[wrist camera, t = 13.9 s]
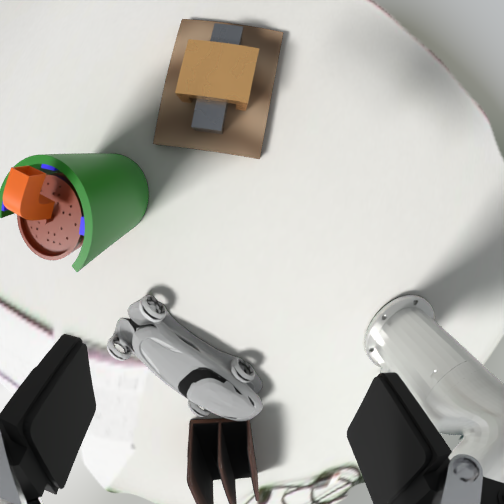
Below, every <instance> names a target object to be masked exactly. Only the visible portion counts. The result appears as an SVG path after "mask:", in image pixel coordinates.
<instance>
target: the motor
mask: <svg viewBox="0 0 504 504" xmlns="http://www.w3.org/2000/svg"><path fill="white" fill-rule="evenodd" d="M148 199H149V191H148V184H147V181H146V178H145V176H144V174H143V172H142V170H141V169H140V168H139V166H138V165H137V164H136V163H135V162H134V161H132V160H131V159H129V158H128V157H126V156H123V155H120V154H106V153H88V154H48V155H34V156H30V157H28V158H25V159H23V160H22V161H20V162H19V163H18V164H16V165H15V166H14V167H12V168H11V170H10V172H9V173H8V175H7V176H6V178H5V180H4V182H3V184H2V186H1V189H0V218H3V217H5V216H8V215H11V214H14V213H16V214H17V219H18V226H19V230H20V233H21V235H22V238H23V240H24V241H25V243H26V244H27V246H28V247H29V248H30V249H31V250H32V251H33V252H34V253H35V254H36V255H38V256H39V257H41V258H44V259H47V260H59V259H62V258H64V257H66V256H67V255H69V254H70V253H72V252H73V251H75V250H76V249H78V248H79V247H81V246H82V248H81V251H80V253H79V256H78V258H77V259H76V261H75V262H74V264H73V265H72V267H73V268H74V269H75V271H76V272H78V271H79V270H81V269H82V268H83V267H84V266H85V265H87V264H88V263H89V262H90V261H92V260H93V259H94V258H95V257H97V256H98V255H99V254H100V253H102V252H103V251H104V250H105V249H107V248H108V247H109V246H110V245H112V244H113V243H114V242H116V241H117V240H118V239H120V238H121V237H122V236H123V235H125V234H126V233H127V232H129V231H130V230H131V229H133V228H134V227H135V226H136V225H137V224H138V223H139V222H140V221H141V219H142V218H143V216H144V214H145V212H146V209H147V205H148Z"/></svg>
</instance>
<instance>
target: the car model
mask: <svg viewBox="0 0 504 504" xmlns="http://www.w3.org/2000/svg"><path fill="white" fill-rule="evenodd" d="M148 304H149V305H148ZM128 314H129V317H130V320H127V319H124V318H120V319H119V320H118V322H117V325H116V329H115V333H114V335H113V336H112V337H111V338H110V339H109V341H108V344H107V350H108V351H109V353H110V355H111V356H112V357H114V358H115V359H117V360H121V361H123V360H126V359H128V358H129V357H130V355H131V354H133V355H136V356H137V357H138V358H139V359H140V360H141V361H142V362H143V363H144V364H145V365H146V366H147V367H148V368H149V369H150V370H151V371H152V372H153V373H154V374H155V375H156V376H158V377H159V378H160V379H161V380H162V381H163V382H165V383H166V384H167V385H168V386H170V387H171V388H173V389H174V390H175V391H177V392H178V393H179V394H181V395H182V396H184V397H186V398H187V399H188V400H189V401H188V406H189V408H190V410H191V411H192V412H193V413H194V414H195V415H197V416H199V417H204V416H207V415H209V414H210V412H212V413H214V414H216V415H218V416H221V417H224V418H227V419H230V420H234V421H247V420H249V419H251V418H253V417H255V416H256V415H258V414H259V413H260V412H261V411H262V409H263V403H262V401H261V399H260V397H259V396H258V395H257V394H258V393H259V391H260V390H261V389H262V386H263V383H262V381H261V379H260V378H259V377H258V375H257V374H256V373H255V371H254V369H253V367H252V366H251V365H250V364H249V363H246V362H245V361H244V360H242V358H239V357H235V356H233V355H230V354H227V353H225V352H222V351H219V350H217V349H215V348H214V347H212V346H210V345H209V344H207V343H205V342H204V341H202V340H201V339H199V338H197V337H196V336H195V335H193V334H192V333H191V332H189V331H188V330H187V329H185V328H184V327H183V326H182V325H180V324H179V323H178V322H177V321H176V320H175V319H174V318H173V317H172V316H171V315H170V314H169V312H168V311H167V310H166V308H165V306H164V305H163V304H162V303H160V302H158V301H157V300H156V299H155V298H154V297H153V296H151V295H147V296H144V297H143V298H142V299H141V300H139V301H137V302H135V303H133V304H132V305H130V307H129V308H128ZM114 343H116V344H119V345H120V346H121V347H122V348H123V349H124V351H125V353H121V352H119V351H118V350H117V349H116V348H115V345H114ZM192 383H193V384H192ZM198 405H199V406H201V407H203V408H204V410H202V409H201V408H199V406H198Z"/></svg>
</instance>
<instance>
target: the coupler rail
mask: <svg viewBox="0 0 504 504" xmlns="http://www.w3.org/2000/svg"><path fill="white" fill-rule="evenodd" d="M242 34H243V27H242V26H235V25H227V24H219V23H215V24H214V28H213V31H212V35H211V39H210V41H213V42H221V43H229V44H236V45H241V41H242ZM227 107H228V103H227V102H220V101H213V100H205V99H197V100H196V105H195V110H194V115H193V120H192V125H191V127H192V128H193V129H194V130H195V131H202V132H209V133H216V134H222V133H223V128H224V122H225V117H226V112H227Z"/></svg>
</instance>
